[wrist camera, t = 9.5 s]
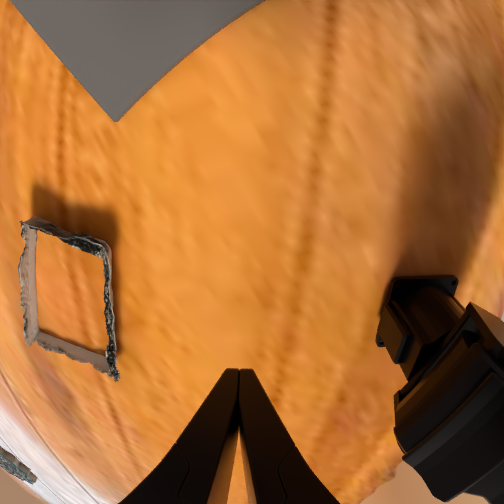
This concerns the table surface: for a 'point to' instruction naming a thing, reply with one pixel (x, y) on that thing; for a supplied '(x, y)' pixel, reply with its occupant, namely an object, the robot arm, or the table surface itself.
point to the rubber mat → (126, 40)
